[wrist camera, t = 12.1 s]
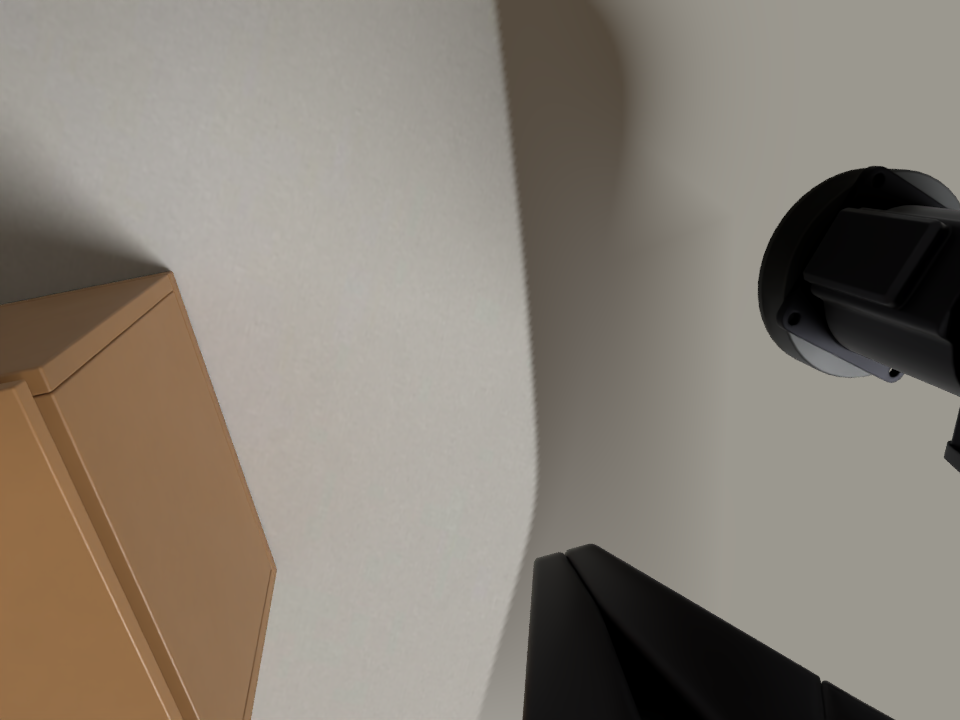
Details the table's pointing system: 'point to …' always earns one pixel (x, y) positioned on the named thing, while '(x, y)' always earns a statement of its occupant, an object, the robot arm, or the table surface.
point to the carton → (153, 477)
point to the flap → (62, 593)
